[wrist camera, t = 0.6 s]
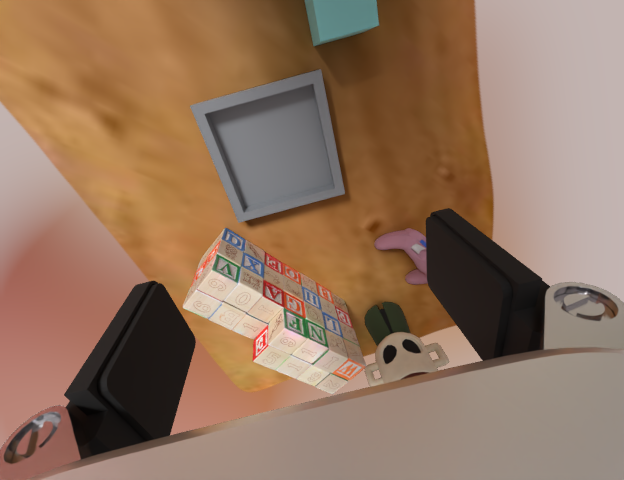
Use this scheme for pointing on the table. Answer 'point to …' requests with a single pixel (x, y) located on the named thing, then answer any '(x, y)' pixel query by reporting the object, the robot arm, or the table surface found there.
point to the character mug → (398, 347)
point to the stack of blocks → (276, 313)
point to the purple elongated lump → (408, 251)
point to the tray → (273, 145)
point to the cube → (340, 18)
